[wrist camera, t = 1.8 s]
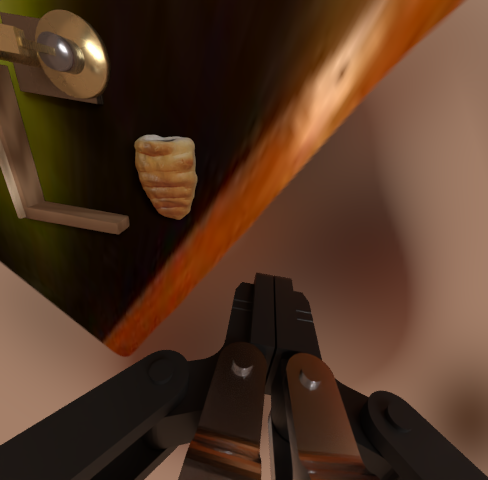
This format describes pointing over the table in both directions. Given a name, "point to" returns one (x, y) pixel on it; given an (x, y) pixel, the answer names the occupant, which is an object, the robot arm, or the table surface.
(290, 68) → the table surface
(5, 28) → the balance
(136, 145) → the pastry
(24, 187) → the rail
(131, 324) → the table surface
